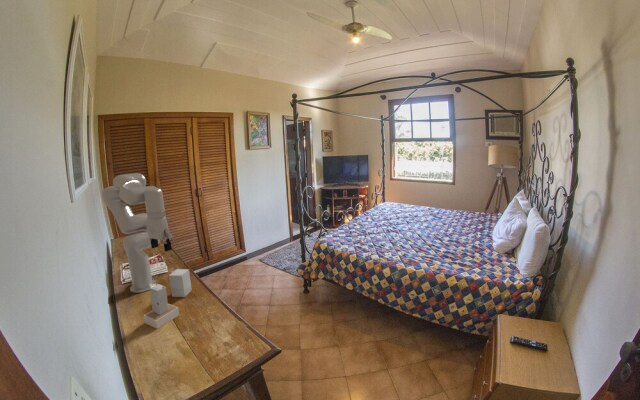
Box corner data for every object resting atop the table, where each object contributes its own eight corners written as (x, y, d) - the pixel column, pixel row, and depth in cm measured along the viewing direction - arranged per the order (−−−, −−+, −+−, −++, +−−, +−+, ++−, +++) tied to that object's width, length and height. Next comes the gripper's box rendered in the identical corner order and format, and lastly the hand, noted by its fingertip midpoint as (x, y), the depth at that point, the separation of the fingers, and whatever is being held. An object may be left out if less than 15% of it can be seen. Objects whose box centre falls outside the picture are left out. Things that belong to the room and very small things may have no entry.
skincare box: (152, 311, 131) (148, 287, 129) (161, 306, 135) (157, 283, 133) (160, 315, 129) (156, 291, 126) (169, 310, 132) (166, 286, 130)
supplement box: (192, 290, 158) (189, 269, 155) (184, 297, 150) (181, 275, 148) (179, 289, 158) (176, 268, 155) (171, 297, 151) (168, 275, 148)
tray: (145, 323, 130) (143, 314, 129) (167, 310, 140) (165, 302, 139) (157, 328, 126) (156, 320, 125) (179, 314, 136) (178, 306, 135)
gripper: (137, 214, 134) (142, 248, 138) (160, 219, 126) (166, 255, 130) (152, 210, 140) (157, 243, 144) (175, 214, 133) (180, 249, 136)
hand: (161, 248), depth 137 cm, fingers open, 9 cm apart
